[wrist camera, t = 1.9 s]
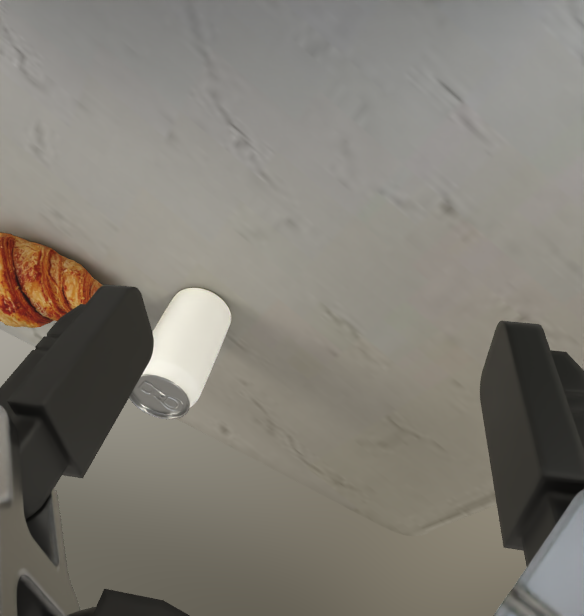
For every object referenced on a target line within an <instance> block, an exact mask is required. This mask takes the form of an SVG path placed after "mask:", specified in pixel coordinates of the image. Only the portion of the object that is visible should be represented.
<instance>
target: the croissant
mask: <svg viewBox="0 0 584 616" xmlns="http://www.w3.org/2000/svg"><path fill="white" fill-rule="evenodd" d="M101 286H103V285H102V284H100V283H99V282H98V281H97V280H95V279H93V277H92V276H91V275H90V274H89V273H88V272H87V270H86V269H85V268H83V267H82V265H81V264H78V263H76V262H75V261H74V260H71V259H68V258H66V257H64V256H61V255H59V254H58V253H57V252H56V251H55V250H53V249H51V248H49V247H47V246H44V245H41V244H38V243H35V242H29V241H27V240H25V239H22V238H20V237H17V236H13V235H12V234H7V233H0V321H2V322H4V324H5V325H9V326H14V327H21V326H23V327H29V328H35V327H41V326H43V325H45V324H48V323H50V322H52V321H58V320H59V319H60V318H61V317H62V316H63V315H65V314H66V313H68V312H69V311H71V310H72V309H74V308H76V307H77V306H79V305H80V304H86V303H87V302H88V301H89V300H90V299H91V297H92V296H93V295H94V294H95V292H96V291H97V290H98V289H99V288H100V287H101Z"/></svg>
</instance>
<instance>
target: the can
mask: <svg viewBox="0 0 584 616" xmlns="http://www.w3.org/2000/svg"><path fill="white" fill-rule="evenodd" d="M230 323H231V313H230V310H229V308H228V306H227V305H226V303H225V302H224V301H223V300H222V299H221V298H220V297H219V296H218V295H216V294H215V293H213V292H211V291H209V290H206V289H202V288H187V289H184V290H181V291H179V292H178V293H177V294H176V295H175V296H174V298H173V299H172V301H171V302H170V304H169V305H168V307H167V309H166V310H165V312H164V314H163V315H162V317H161V319H160V320H159V322H158V324H157V325H156V327H155V329H154V330H153V332H152V333H153V338H154V347H153V353H152V357H151V359H150V361H149V363H148V365H147V367H146V369H145V370H144V372H143V374H142V376H141V377H140V379H139V381H138V383H137V384H136V386H135V388H134V390H133V391H132V393H131V395H130V397H129V398H130V400H131V401H132V403H133V404H134V405H135V406H137V407H138V408H139V409H140V410H142V411H144V412H145V413H147V414H149V415H152V416H154V417H158V418H162V419H177V418H180V417H183V416H184V415H186V414H187V412H188V411H189V408H190V407H191V406H192V405H194V404H195V403H196V402H197V400H198V399H199V397H200V395H201V393H202V390H203V388H204V386H205V383H206V381H207V379H208V376H209V374H210V372H211V369H212V367H213V364H214V362H215V360H216V357H217V355H218V353H219V350H220V348H221V345H222V343H223V341H224V338H225V336H226V333H227V331H228V328H229V326H230Z"/></svg>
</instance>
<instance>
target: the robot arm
mask: <svg viewBox="0 0 584 616" xmlns="http://www.w3.org/2000/svg"><path fill="white" fill-rule="evenodd" d="M153 347H154V338H153V333H152V330H151V326H150V323H149V319H148V316H147V312H146V309H145V306H144V302H143V299H142V295H141V293H140V291H139V290H138V289H137V288H135V287H127V286H115V285H103V286H101V287H100V288H99V289H98V290H97V291H96V292H95V294H94V295H93V296H92V297H91V299H90V300H89V301H88V302H87V303H86V304H80V305H79V306H77V307H76V308H74V309H72V310H71V311H69V312H68V313H66V314H65V315H63V316H62V317H61V318H60V319H59V320H58V321H57V322H56V323H55V325H54V326H53V327H52V328H51V329H50V330H49V332H48V333H47V337H43V339H42V340H41V341H40V342H39V343H38V344H37V346H36V349H35V350H32V351H31V353H30V354H29V355H28V356H27V357H26V358H25V360H24V361H23V362H22V363H21V364H20V365H19V367H18V368H17V369H16V370H15V371H14V372H13V374H12V375H11V376H10V377H9V378H8V379H7V381H6V382H5V383H4V384H3V385H2V386H1V388H0V616H189V615H188V614H186V613H184V612H182V611H181V610H179V609H177V608H175V607H174V606H172V605H170V604H168V603H167V602H165V601H163V600H158V599H153V598H148V597H143V596H137V595H133V594H127V593H123V592H118V591H113V590H108V589H104V591H103V593H102V595H101V598H100V600H99V602H98V604H97V607H92V608H89V609H85V610H80V607H79V603H78V600H77V597H76V594H75V592H74V589H73V587H72V584H71V581H70V578H69V574H68V569H67V561H66V554H65V546H64V539H63V532H62V524H61V516H60V510H59V501H58V495H57V491H56V489H55V488H54V487H55V485H56V484H57V482H58V480H59V479H60V477H61V476H62V475H66V476H72V477H78V478H83V477H84V475H85V473H86V472H87V470H88V468H89V466H90V465H91V463H92V461H93V459H94V458H95V456H96V454H97V452H98V451H99V449H100V447H101V445H102V444H103V442H104V440H105V438H106V436H107V435H108V433H109V431H110V430H111V428H112V426H113V424H114V423H115V421H116V419H117V417H118V416H119V414H120V412H121V410H122V409H123V407H124V405H125V403H126V402H127V400H128V398H129V397H130V395H131V393H132V391H133V390H134V388H135V386H136V384H137V383H138V381H139V379H140V377H141V376H142V374H143V372H144V370H145V369H146V367H147V365H148V363H149V361H150V359H151V357H152V353H153ZM480 400H481V407H482V413H483V419H484V426H485V432H486V438H487V445H488V451H489V457H490V464H491V470H492V476H493V483H494V489H495V495H496V502H497V508H498V514H499V521H500V527H501V533H502V538H503V546H504V547H505V548H512V549H517V550H524V555H525V560H526V565H527V568H526V570H525V571H524V573H523V574H522V575H521V577H520V578H519V580H518V581H517V583H516V584H515V586H514V587H513V589H512V590H511V591H510V593H509V594H508V595H507V597H506V598H505V600H504V601H503V603H502V604H501V606H500V607H499V609H498V610H497V612H496V613H495V615H494V616H584V371H583V369H582V368H581V367H580V366H579V365H578V364H577V363H576V362H575V361H574V360H573V359H572V358H571V357H570V356H569V355H568V353H567V352H560V351H550V348H549V345H548V342H547V339H546V336H545V333H544V330H543V328H542V326H541V325H539V324H530V323H519V322H508V321H500V322H499V323H498V325H497V327H496V330H495V333H494V337H493V340H492V343H491V346H490V349H489V352H488V355H487V359H486V362H485V365H484V368H483V371H482V376H481V383H480Z"/></svg>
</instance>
